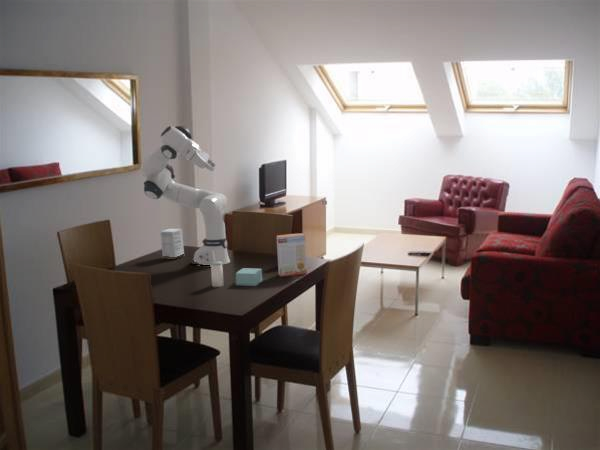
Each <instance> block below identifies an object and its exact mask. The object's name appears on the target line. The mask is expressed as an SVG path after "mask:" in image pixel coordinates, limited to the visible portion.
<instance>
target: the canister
mask: <svg viewBox="0 0 600 450" xmlns="http://www.w3.org/2000/svg"><path fill="white" fill-rule="evenodd" d="M210 269H211V270H210V271H211V272H210V275H211V285H212V288H221V287H224V271H223V270H224V267H223V265H222V261H213V262H211V266H210Z"/></svg>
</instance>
